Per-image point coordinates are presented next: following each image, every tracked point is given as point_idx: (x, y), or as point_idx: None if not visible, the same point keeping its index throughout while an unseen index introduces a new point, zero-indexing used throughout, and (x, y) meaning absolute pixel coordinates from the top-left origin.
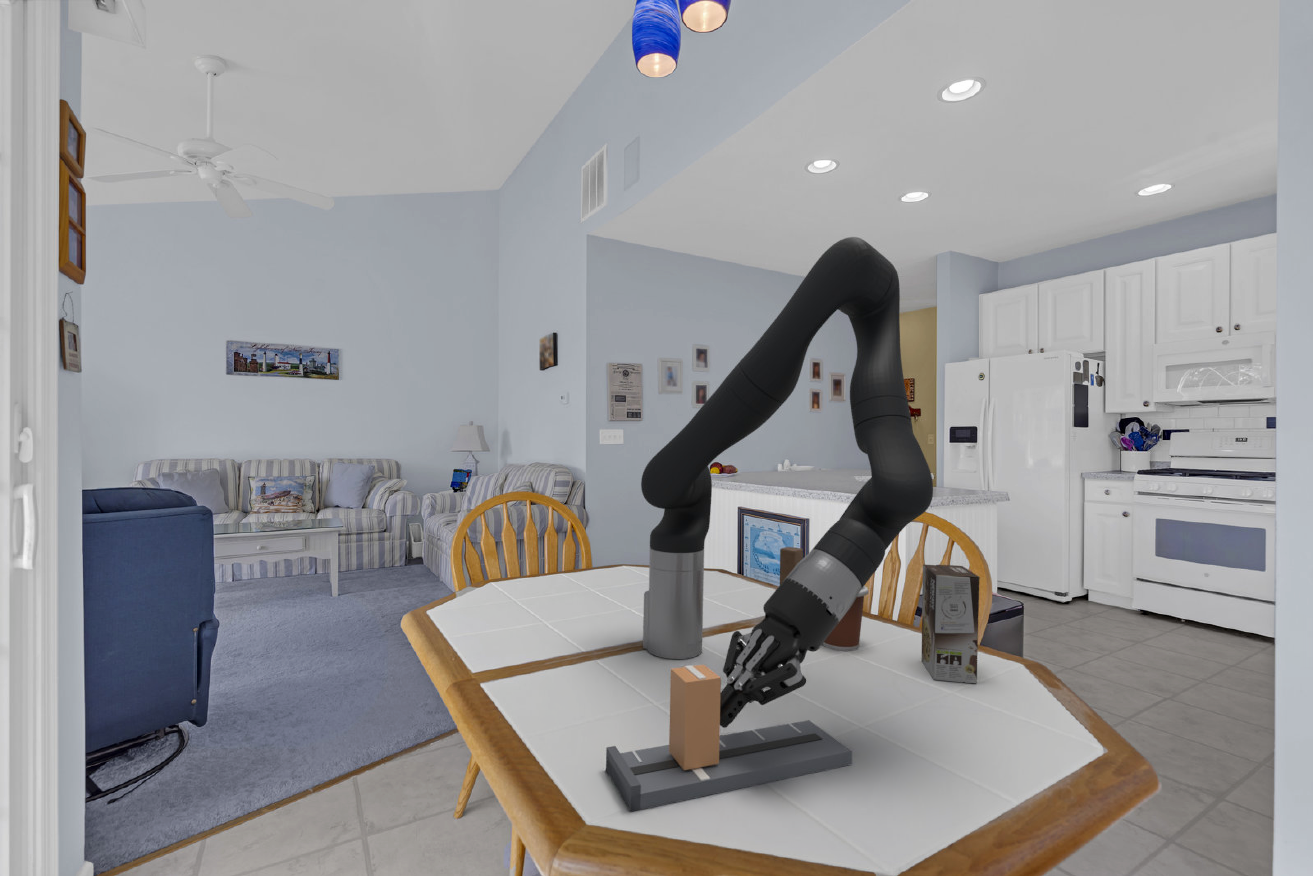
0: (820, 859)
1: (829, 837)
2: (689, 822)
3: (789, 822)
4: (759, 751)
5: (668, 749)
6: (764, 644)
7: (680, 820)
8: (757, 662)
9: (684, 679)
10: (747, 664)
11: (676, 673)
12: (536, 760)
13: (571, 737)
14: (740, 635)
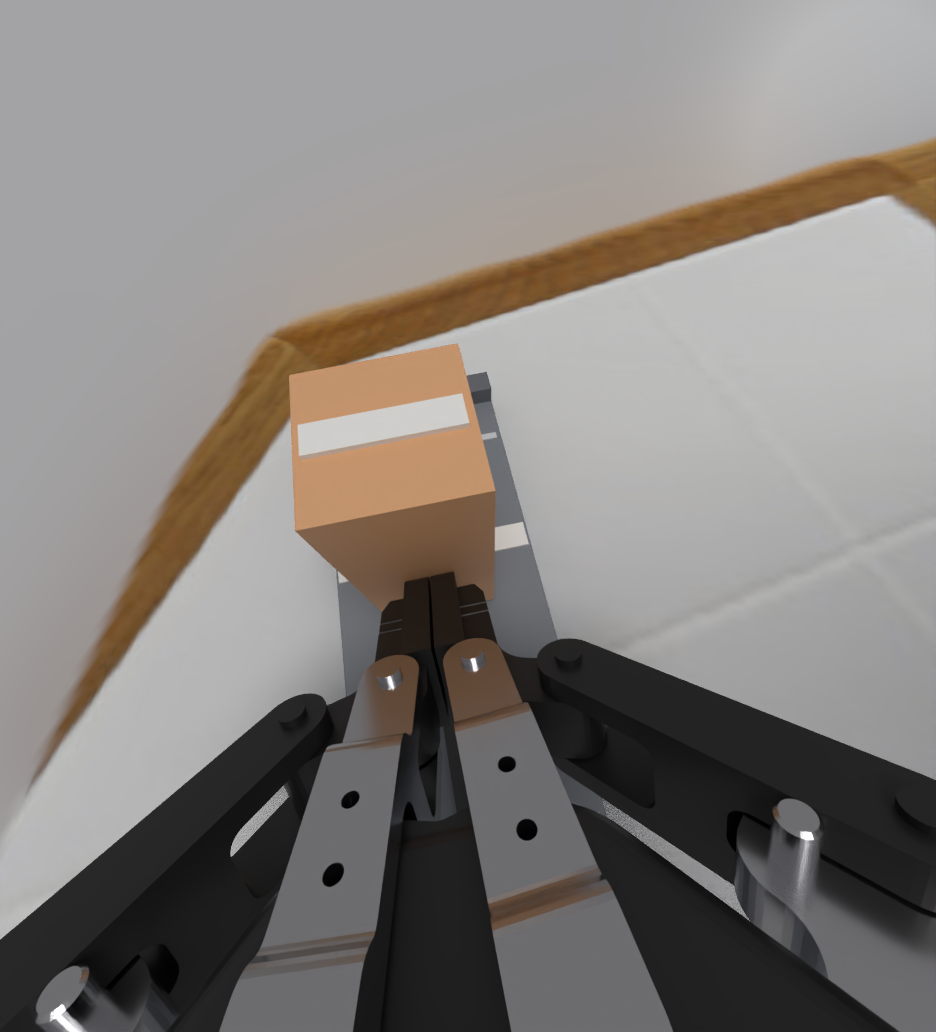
0: (53, 773)
1: (101, 841)
2: (271, 529)
3: (191, 755)
4: (450, 782)
5: (499, 513)
6: (309, 993)
7: (283, 514)
8: (306, 812)
9: (324, 375)
10: (390, 743)
11: (399, 356)
12: (537, 301)
13: (630, 351)
14: (902, 866)
